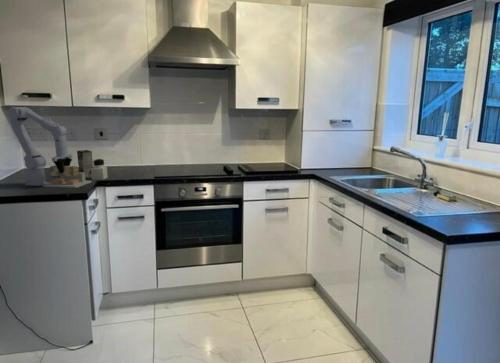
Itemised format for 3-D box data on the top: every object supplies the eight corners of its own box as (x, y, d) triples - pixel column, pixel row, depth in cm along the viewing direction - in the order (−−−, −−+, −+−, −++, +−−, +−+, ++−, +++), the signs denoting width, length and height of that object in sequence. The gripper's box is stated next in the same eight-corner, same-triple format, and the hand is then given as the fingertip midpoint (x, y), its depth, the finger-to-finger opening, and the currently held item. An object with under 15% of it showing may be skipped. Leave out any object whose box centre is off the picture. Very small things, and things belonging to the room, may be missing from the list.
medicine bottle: (107, 177, 229) (106, 158, 226) (103, 179, 222) (102, 160, 219) (96, 177, 228) (94, 158, 226) (91, 180, 222) (89, 160, 219)
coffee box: (78, 175, 236) (76, 150, 233) (89, 174, 241) (86, 149, 237) (84, 177, 230) (81, 151, 226) (94, 176, 234) (92, 151, 231)
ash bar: (50, 175, 205) (49, 166, 204) (55, 174, 209) (54, 165, 208) (73, 176, 203) (72, 167, 202) (78, 174, 207) (77, 166, 206)
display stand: (42, 186, 204) (41, 176, 202) (60, 181, 218) (59, 171, 217) (75, 187, 200) (74, 177, 199) (91, 182, 215) (90, 172, 214)
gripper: (59, 149, 195) (62, 174, 198) (76, 146, 209) (78, 170, 212) (47, 149, 196) (50, 174, 199) (64, 146, 210) (67, 169, 213)
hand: (64, 172), depth 206 cm, fingers closed on ash bar, 4 cm apart
